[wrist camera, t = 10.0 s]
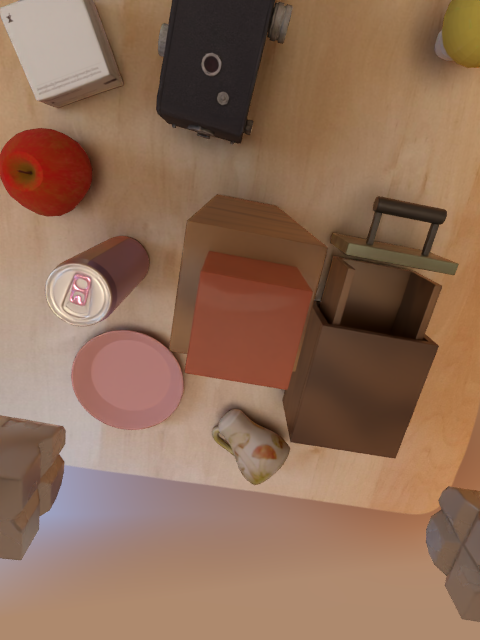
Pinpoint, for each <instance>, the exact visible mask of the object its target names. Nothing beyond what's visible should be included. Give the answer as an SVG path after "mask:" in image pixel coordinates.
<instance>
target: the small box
mask: <svg viewBox="0 0 480 640" xmlns="http://www.w3.org/2000/svg"><path fill="white" fill-rule="evenodd" d="M0 17H1V19H2V21H3V23H4V26H5V28H6V30H7V33H8V35H9V37H10V40H11V42H12V44H13V46H14V49H15V51H16V53H17V56H18V58H19V60H20V63H21V65H22V67H23V70H24V72H25V74H26V77H27V79H28V81H29V84H30V86H31V88H32V91H33V93H34V95H35V98H36V100H37V101H40V102H43V103H45V104H48V105H50V106H53V107H56V108H59V107H62V106H65V105H67V104H70V103H73V102H76V101H78V100H81V99H84V98H87V97H90V96H92V95H95V94H98V93H101V92H104V91H107V90H110V89H113V88H116V87H119V86H123V81H122V79H121V76H120V73H119V70H118V67H117V64H116V62H115V59H114V56H113V53H112V50H111V48H110V45H109V42H108V39H107V36H106V34H105V31H104V28H103V25H102V23H101V20H100V17H99V14H98V12H97V9H96V6H95V3H94V2H93V0H20V1H17V2H14V3H12V4H9V5H6V6H4V7H1V8H0Z"/></svg>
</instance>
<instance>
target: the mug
mask: <svg viewBox="0 0 480 640" xmlns="http://www.w3.org/2000/svg"><path fill="white" fill-rule="evenodd" d="M218 433H221V434H222V435H223V436H224V437H225V439H226V440H227V441H228V443H229V444H230V445H228V444H227V443H226V442H224V441H223V440H222V439H221V438H220V437H218V435H217V434H218ZM212 436H213V438H214V440H215V442H217V443H218V444H219V445H220V446H222V447H223V448H224V449H226V450H227V451H229V452H230V453H231V454H232V455H234V457H235V459H236V462H237V465H238V467H239V469H240V471H241V473H242V475H243V476H244V477H245V478H246V479H247V480H248V481H249V482H250V483H252V484H254V485H258V484H261V483H263V482H264V481H266V480H267V479H269V478H270V477H271V476H272V475H274V474H275V473H276V472H277V471H278V470H279V469H280V468H281V466H282V465H283V464H284V462H285V461H286V459H287V457H288V455H289V451H290V447H289V446H288V444H287V443H286V442H285V441H284V439H283V438H282V437H280V436H279V435H278V434H276V433H275V432H273V431H271V430H269V429H266V428H264V427H262V426H260V425H258V424H256V423H254V422H253V421H251V420H250V419H249V418H248V417H247V416H246V415H245V414H244V413H243V412H242V411H241V410H237V409H233V410H230V411H229V412H227V413H226V414H225V415H224V416H223V417H222V418H221V420H220V422H219V426H216V427H214V428H213V430H212Z"/></svg>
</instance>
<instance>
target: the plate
mask: <svg viewBox="0 0 480 640" xmlns="http://www.w3.org/2000/svg"><path fill="white" fill-rule="evenodd" d="M71 378H72V385H73V389H74V392H75V394H76V397H77V398H78V400H79V402H80V403H81V405H82V406H83V407H84V408H85V410H86V411H87V412H88V413H90V414H91V415H92V416H93V417H95V418H96V419H98V420H99V421H101V422H103V423H105V424H107V425H109V426H112V427H116V428H120V429H127V430H138V429H145V428H149V427H152V426H155V425H157V424H159V423H161V422H163V421H164V420H166V419H167V418H168V417H169V416H170V415H171V414H172V413H173V412H174V411H175V410H176V408H177V407H178V405H179V403H180V401H181V398H182V394H183V388H184V381H183V374H182V371H181V368H180V365H179V363H178V361H177V360H176V358H175V357H174V355H173V354H172V353H171V352H170V351H169V349H168V348H167V347H165V346H164V345H163V344H162V343H160V342H159V341H158V340H156V339H154V338H152V337H150V336H148V335H146V334H143V333H139V332H135V331H128V330H117V331H110V332H106V333H103V334H100V335H98V336H96V337H94V338H93V339H91V340H90V341H88V342H87V343H86V344H85V345H84V346H83V347H82V348H81V349H80V351H79V352H78V354H77V355H76V357H75V360H74V362H73V366H72V373H71Z"/></svg>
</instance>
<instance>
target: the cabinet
mask: <svg viewBox="0 0 480 640" xmlns="http://www.w3.org/2000/svg"><path fill="white" fill-rule="evenodd" d="M320 304H321V302H319V301H314V302H313V306H312V310H311V314H310V318H309V322H308V325H307V329H306V333H305V337H304V341H303V345H302V348H301V352H300V356H299V360H298V364H297V367H296V371H295V372H292V375H291V379H290V383H289V387H288V389H287V390H285V393H284V396H283V406H284V411H285V416H286V421H287V426H288V431H289V436H290V441H291V442H294V443H300V444H306V445H313V446H319V447H325V448H332V449H338V450H345V451H351V452H357V453H364V454H370V455H376V456H383V457H389V458H396V456H397V453H398V450H399V448H400V445H401V443H402V440H403V437H404V435H405V432H406V430H407V427H408V425H409V422H410V419H411V417H412V414H413V412H414V409H415V406H416V404H417V401H418V399H419V396H420V393H421V391H422V388H423V386H424V383H425V380H426V378H427V375H428V373H429V370H430V368H431V365H432V362H433V360H434V357H435V355H436V352H437V349H438V347H439V346H438V345H437V344H436V343H435V342H434V341H432V340H431V339H430V338H429V337H428V336H427V335H424V337H423V340H422V341H421V340H416V339H410V338H404V337H399V336H393V335H388V334H382V333H376V332H371V331H365V330H359V329H354V328H348V327H343V326H337V325H331V324H328V323H327V321H326V319H325V318H324V316H323V314H322V313H321V311H320V309H319V307H320Z"/></svg>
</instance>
